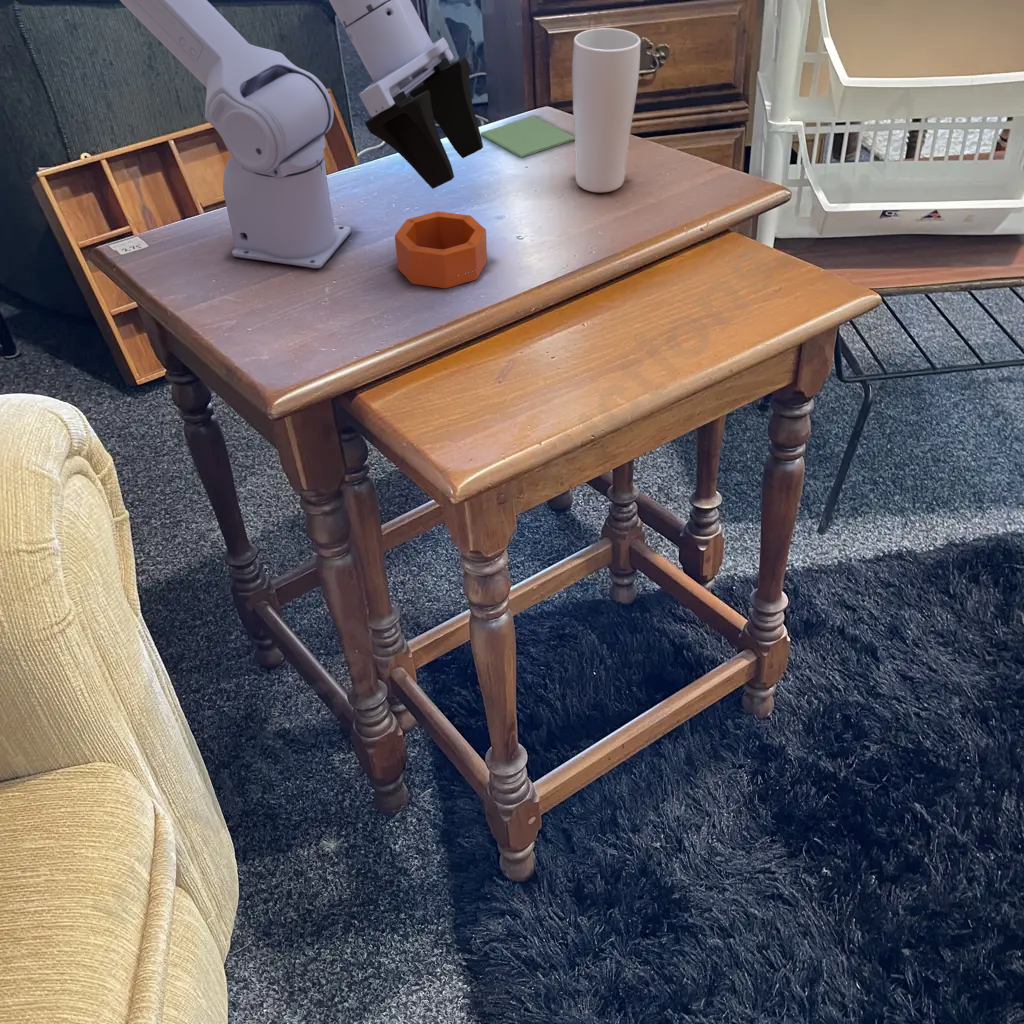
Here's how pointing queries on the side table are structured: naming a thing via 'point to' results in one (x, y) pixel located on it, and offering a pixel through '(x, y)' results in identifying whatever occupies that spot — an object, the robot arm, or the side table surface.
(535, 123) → the mat
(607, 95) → the drinking glass
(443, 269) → the ring
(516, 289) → the side table surface
